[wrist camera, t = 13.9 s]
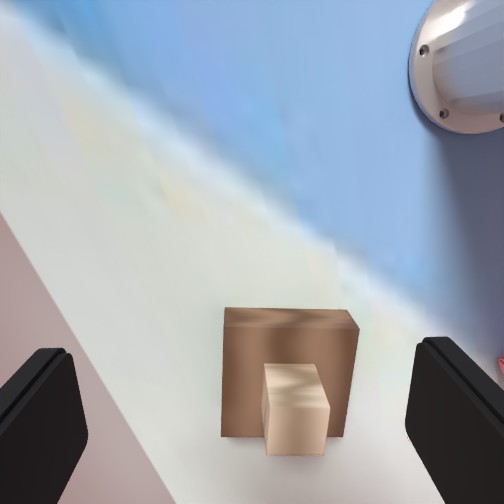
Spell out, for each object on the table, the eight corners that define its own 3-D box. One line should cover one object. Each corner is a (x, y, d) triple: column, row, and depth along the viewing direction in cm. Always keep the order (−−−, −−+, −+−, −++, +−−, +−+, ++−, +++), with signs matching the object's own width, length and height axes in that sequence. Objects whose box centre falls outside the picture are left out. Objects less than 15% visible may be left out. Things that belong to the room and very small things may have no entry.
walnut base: (347, 309, 38) (359, 329, 34) (332, 409, 42) (342, 436, 38) (224, 307, 37) (223, 326, 33) (222, 409, 41) (220, 437, 37)
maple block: (314, 364, 35) (330, 408, 29) (309, 405, 36) (323, 455, 31) (264, 363, 34) (270, 407, 29) (261, 405, 36) (266, 455, 30)
